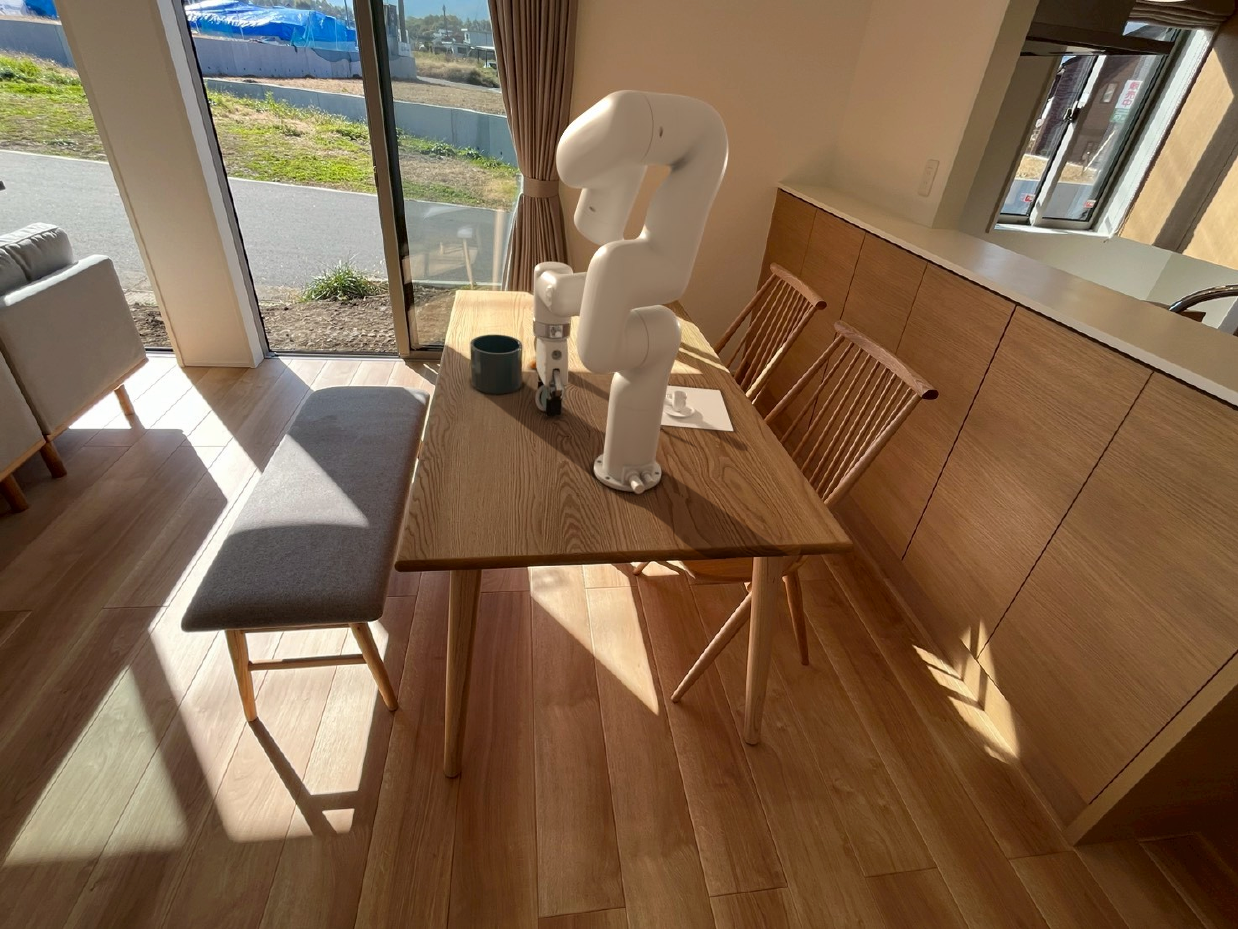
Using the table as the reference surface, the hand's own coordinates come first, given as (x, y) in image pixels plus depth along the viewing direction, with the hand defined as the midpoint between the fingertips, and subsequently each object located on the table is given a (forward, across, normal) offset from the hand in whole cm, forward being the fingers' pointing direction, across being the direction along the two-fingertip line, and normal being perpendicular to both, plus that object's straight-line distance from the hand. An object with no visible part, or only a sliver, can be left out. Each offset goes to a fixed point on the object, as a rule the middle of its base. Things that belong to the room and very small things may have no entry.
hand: (549, 406), depth 128 cm
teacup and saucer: (+1, -2, -31) cm, 31 cm away
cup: (0, +14, +9) cm, 16 cm away
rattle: (+1, +25, -3) cm, 25 cm away
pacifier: (-1, +1, 0) cm, 1 cm away
